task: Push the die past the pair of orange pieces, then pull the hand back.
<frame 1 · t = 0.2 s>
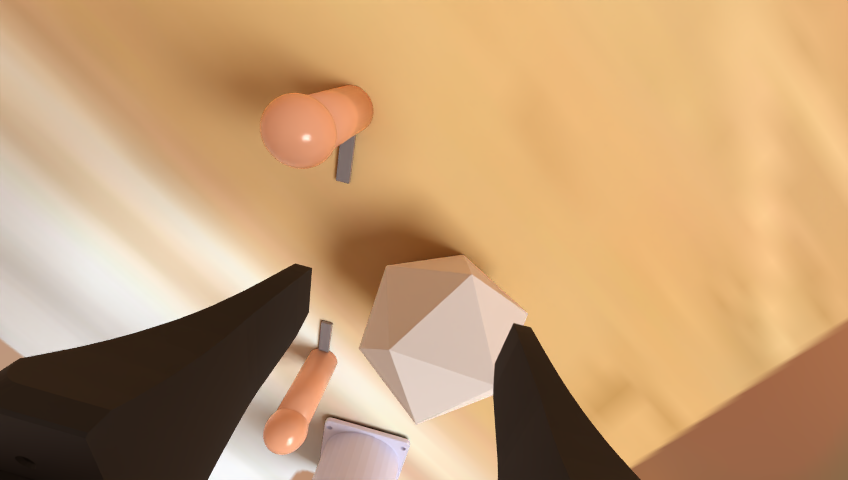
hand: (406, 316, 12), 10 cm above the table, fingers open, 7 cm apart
pair of orange pieces: (334, 259, 24), on the table
die: (448, 288, 24), on the table
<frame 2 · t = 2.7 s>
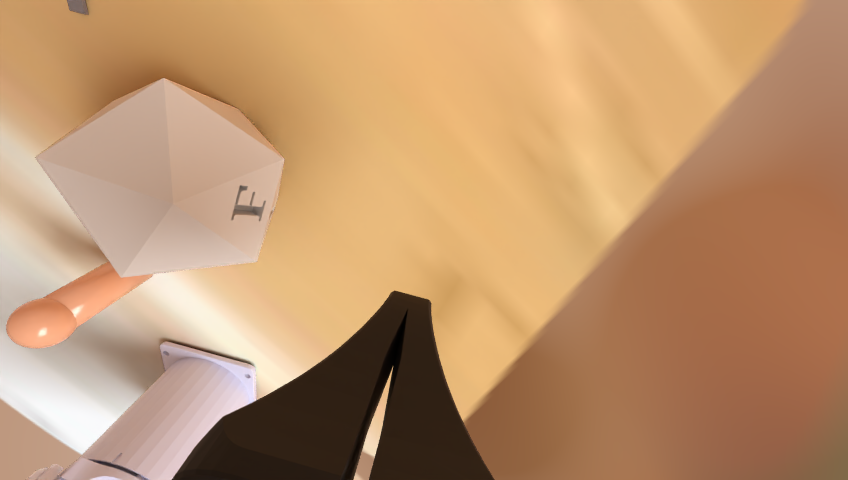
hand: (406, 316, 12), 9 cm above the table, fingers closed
pair of orange pieces: (106, 127, 21), on the table
die: (238, 160, 21), on the table
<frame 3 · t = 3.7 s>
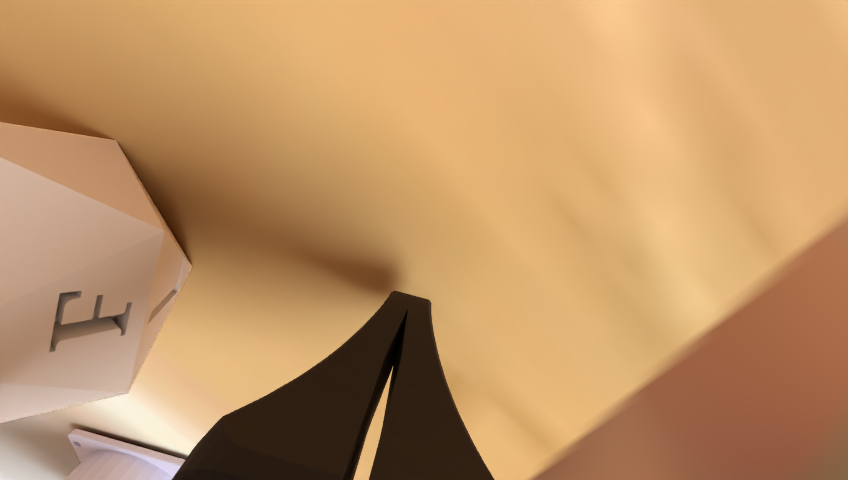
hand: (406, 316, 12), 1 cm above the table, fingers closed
die: (131, 212, 14), on the table
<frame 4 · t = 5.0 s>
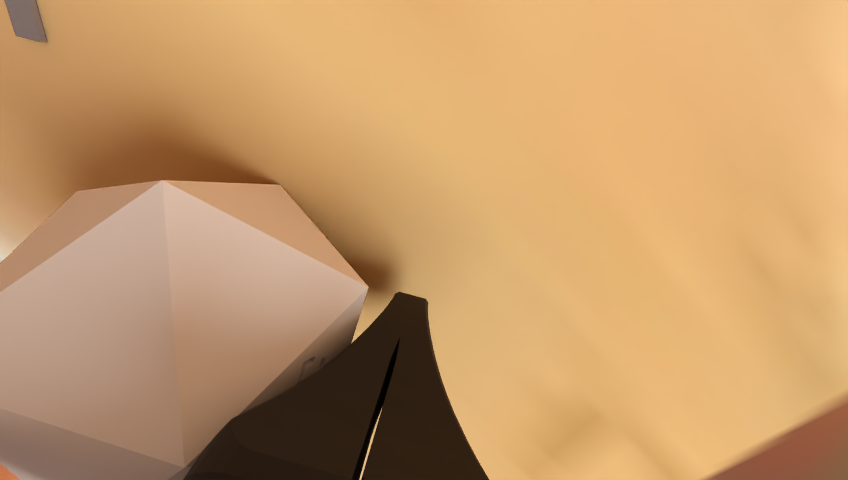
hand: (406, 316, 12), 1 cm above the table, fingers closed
pair of orange pieces: (83, 204, 14), on the table
die: (276, 252, 14), on the table, touching gripper
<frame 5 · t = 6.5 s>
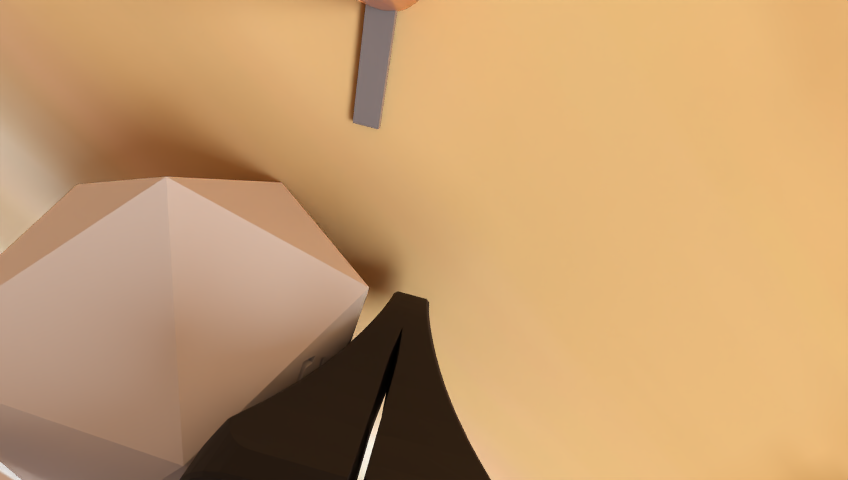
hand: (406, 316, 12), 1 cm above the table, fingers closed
pair of orange pieces: (347, 275, 14), on the table
die: (276, 250, 14), on the table, touching gripper
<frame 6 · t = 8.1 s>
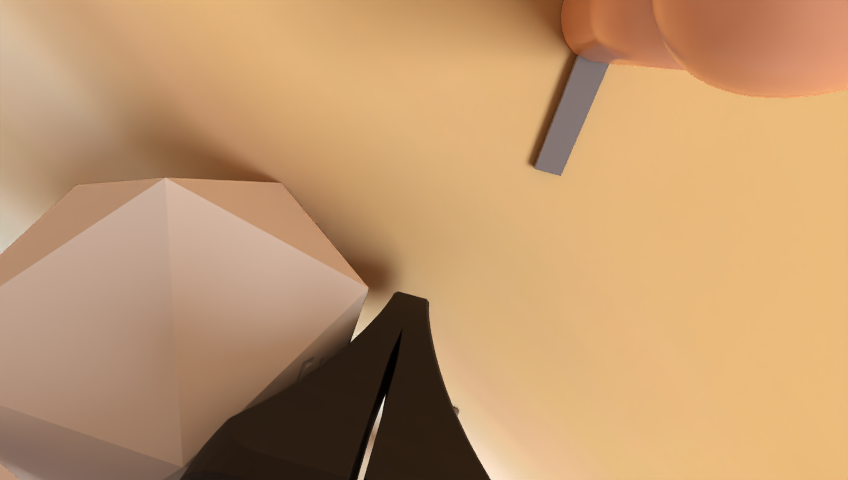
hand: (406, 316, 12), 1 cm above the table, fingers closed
pair of orange pieces: (488, 313, 13), on the table
die: (275, 250, 14), on the table, touching gripper
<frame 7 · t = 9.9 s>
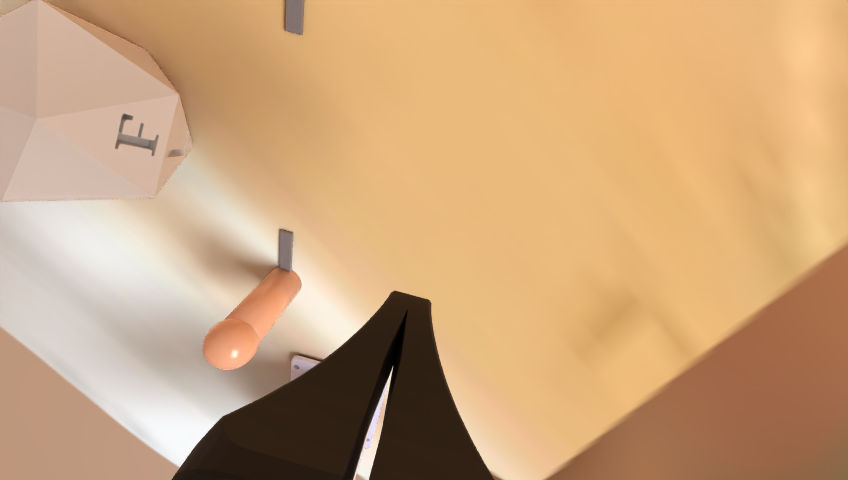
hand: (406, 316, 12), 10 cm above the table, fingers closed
pair of orange pieces: (290, 145, 20), on the table
die: (152, 105, 21), on the table
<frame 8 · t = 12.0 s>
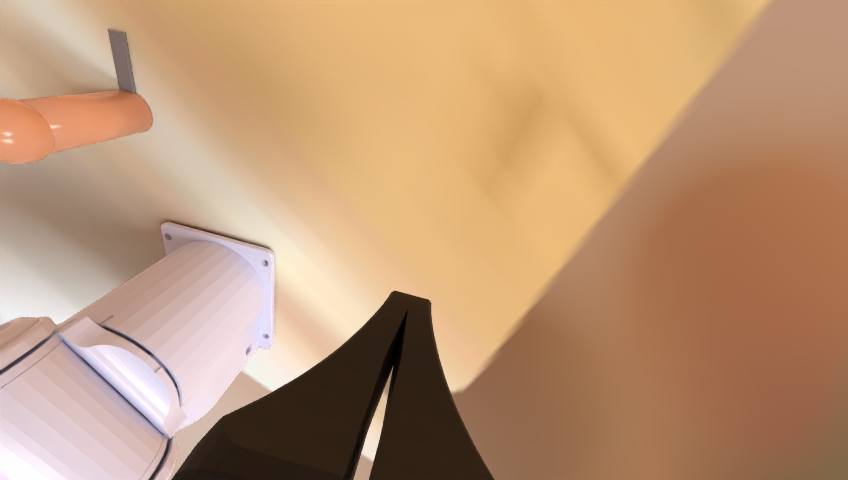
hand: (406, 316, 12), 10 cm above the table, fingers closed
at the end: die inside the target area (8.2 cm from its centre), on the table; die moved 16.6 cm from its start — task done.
